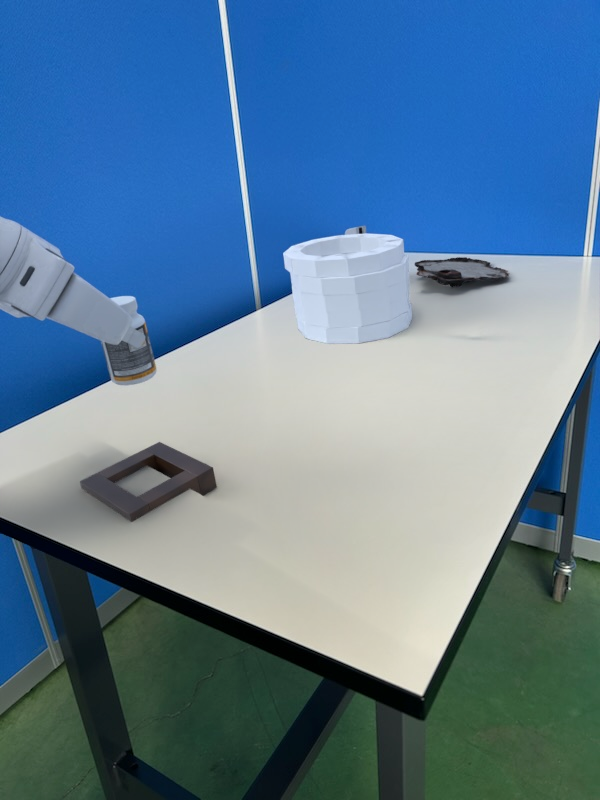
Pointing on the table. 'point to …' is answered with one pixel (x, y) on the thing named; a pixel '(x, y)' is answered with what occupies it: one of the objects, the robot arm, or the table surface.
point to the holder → (167, 462)
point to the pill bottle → (130, 351)
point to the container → (350, 287)
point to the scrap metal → (459, 270)
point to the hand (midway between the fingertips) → (129, 335)
